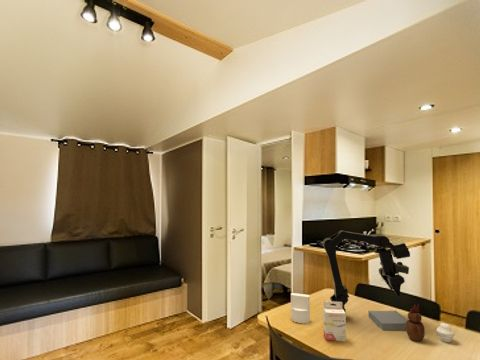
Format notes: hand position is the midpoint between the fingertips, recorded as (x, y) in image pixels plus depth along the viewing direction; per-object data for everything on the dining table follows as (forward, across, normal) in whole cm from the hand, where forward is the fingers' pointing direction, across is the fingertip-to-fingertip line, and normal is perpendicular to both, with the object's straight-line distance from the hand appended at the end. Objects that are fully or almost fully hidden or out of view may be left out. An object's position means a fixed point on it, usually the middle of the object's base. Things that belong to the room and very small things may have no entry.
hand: (395, 292), depth 134 cm
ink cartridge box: (+8, -21, +34) cm, 40 cm away
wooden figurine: (+14, -16, +1) cm, 21 cm away
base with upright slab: (+5, -6, +47) cm, 48 cm away
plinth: (+13, -2, +6) cm, 15 cm away
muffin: (+17, -14, -11) cm, 25 cm away
